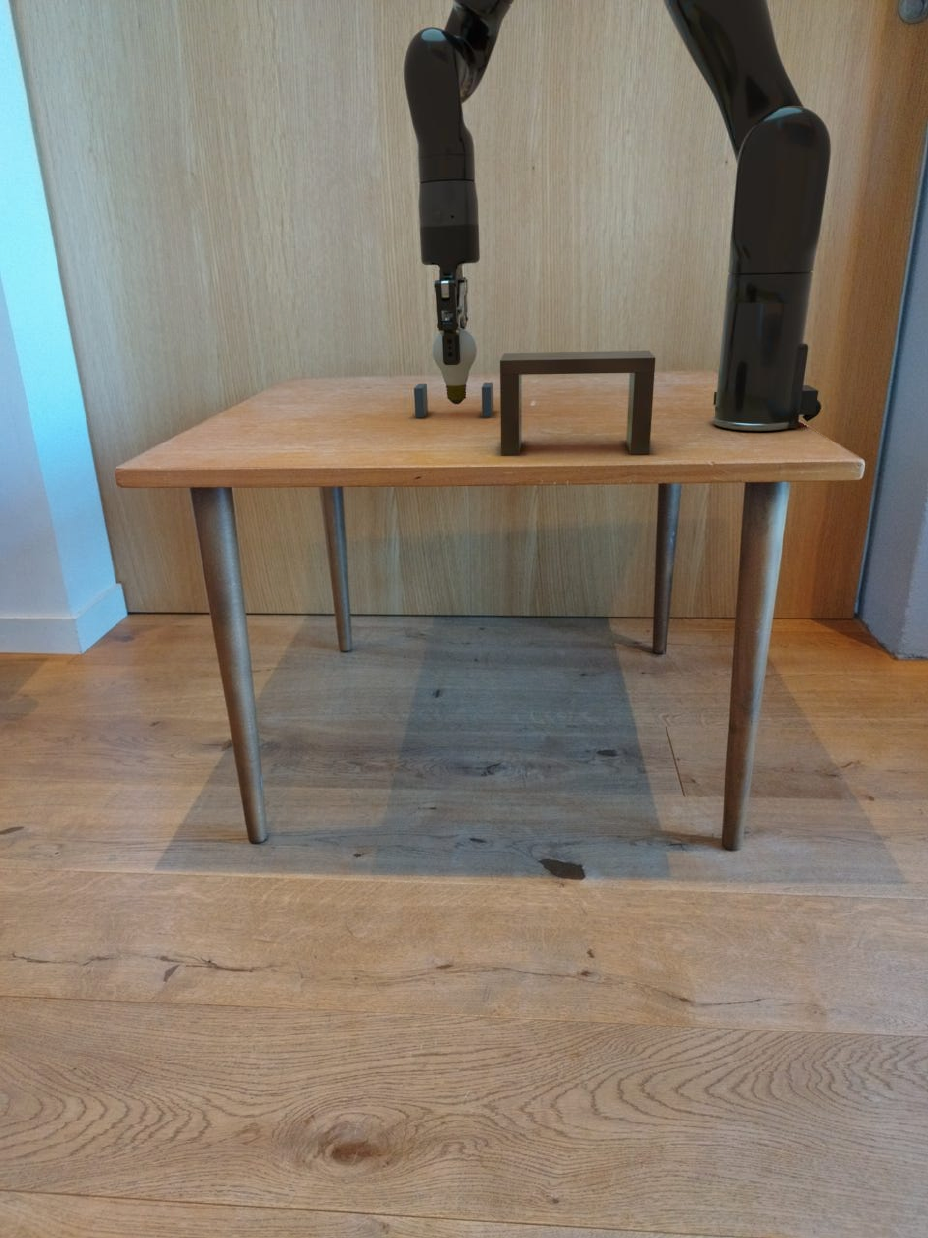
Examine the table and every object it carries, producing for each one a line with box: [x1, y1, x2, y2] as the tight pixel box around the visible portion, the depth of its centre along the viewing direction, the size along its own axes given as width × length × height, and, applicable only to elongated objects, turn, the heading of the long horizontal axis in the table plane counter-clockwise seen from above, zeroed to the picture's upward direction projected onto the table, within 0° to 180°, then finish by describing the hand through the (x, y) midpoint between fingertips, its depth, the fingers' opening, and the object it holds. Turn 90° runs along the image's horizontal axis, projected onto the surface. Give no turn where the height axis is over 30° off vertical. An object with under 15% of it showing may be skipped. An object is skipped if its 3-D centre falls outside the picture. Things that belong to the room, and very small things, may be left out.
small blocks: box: [413, 382, 494, 419], centre depth 112 cm, size 10×4×4 cm, turn 84°
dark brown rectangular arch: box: [499, 350, 656, 456], centre depth 90 cm, size 16×6×10 cm, turn 84°
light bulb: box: [432, 328, 478, 405], centre depth 110 cm, size 6×6×10 cm
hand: (454, 361), depth 110 cm, fingers closed on light bulb, 6 cm apart
